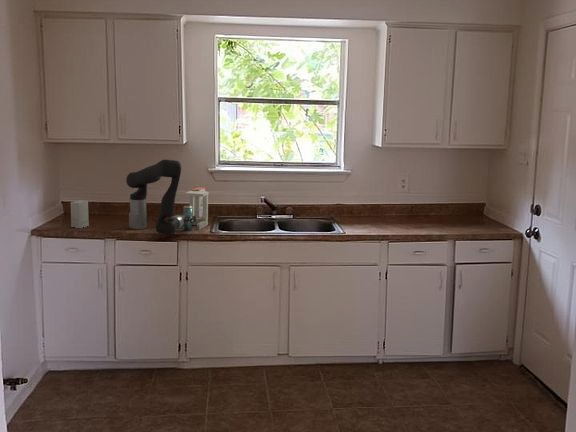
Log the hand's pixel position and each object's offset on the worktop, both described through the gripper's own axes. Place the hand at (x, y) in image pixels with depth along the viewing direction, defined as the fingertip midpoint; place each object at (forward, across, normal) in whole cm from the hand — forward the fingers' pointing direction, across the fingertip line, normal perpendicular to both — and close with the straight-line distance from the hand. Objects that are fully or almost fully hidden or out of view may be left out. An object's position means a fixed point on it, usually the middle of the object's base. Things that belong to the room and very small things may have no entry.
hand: (187, 217), depth 343 cm
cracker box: (+34, +4, +8) cm, 35 cm away
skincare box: (-12, +62, +8) cm, 64 cm away
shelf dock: (+14, 0, +8) cm, 16 cm away
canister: (+1, 0, +8) cm, 8 cm away
